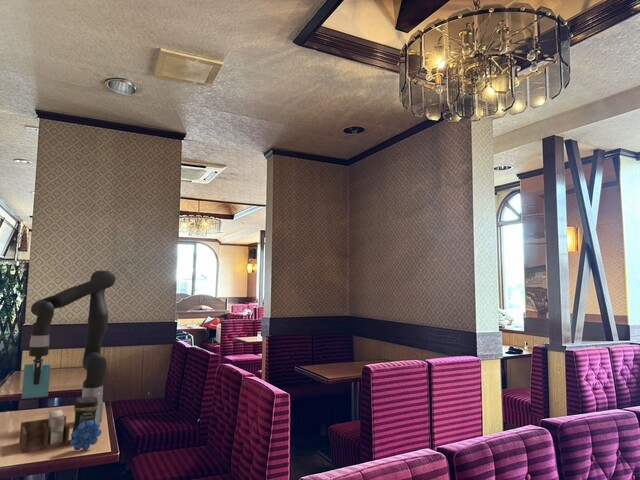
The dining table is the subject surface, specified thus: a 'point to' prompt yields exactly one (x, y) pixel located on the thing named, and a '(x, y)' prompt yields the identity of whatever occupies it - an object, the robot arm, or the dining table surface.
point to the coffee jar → (85, 410)
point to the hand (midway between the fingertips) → (36, 383)
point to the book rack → (44, 433)
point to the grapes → (85, 435)
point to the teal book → (28, 386)
